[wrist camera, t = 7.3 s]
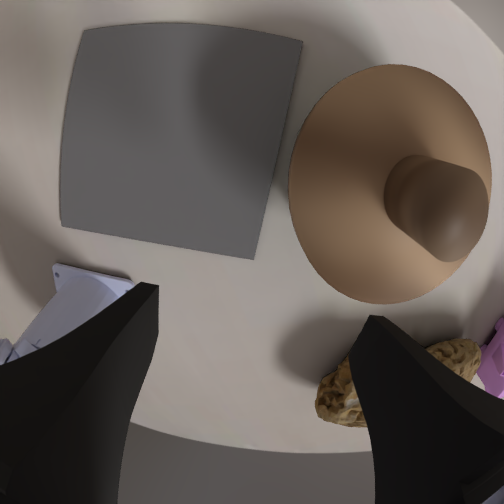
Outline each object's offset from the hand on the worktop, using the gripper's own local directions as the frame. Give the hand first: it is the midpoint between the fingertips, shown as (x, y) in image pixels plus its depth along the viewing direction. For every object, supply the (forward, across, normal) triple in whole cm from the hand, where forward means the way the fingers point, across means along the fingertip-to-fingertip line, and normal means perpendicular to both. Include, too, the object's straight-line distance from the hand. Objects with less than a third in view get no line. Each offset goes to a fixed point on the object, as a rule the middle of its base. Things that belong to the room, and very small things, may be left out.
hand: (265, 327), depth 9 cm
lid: (+5, -7, -5) cm, 10 cm away
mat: (+10, +7, -5) cm, 13 cm away
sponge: (+11, -20, +12) cm, 26 cm away
